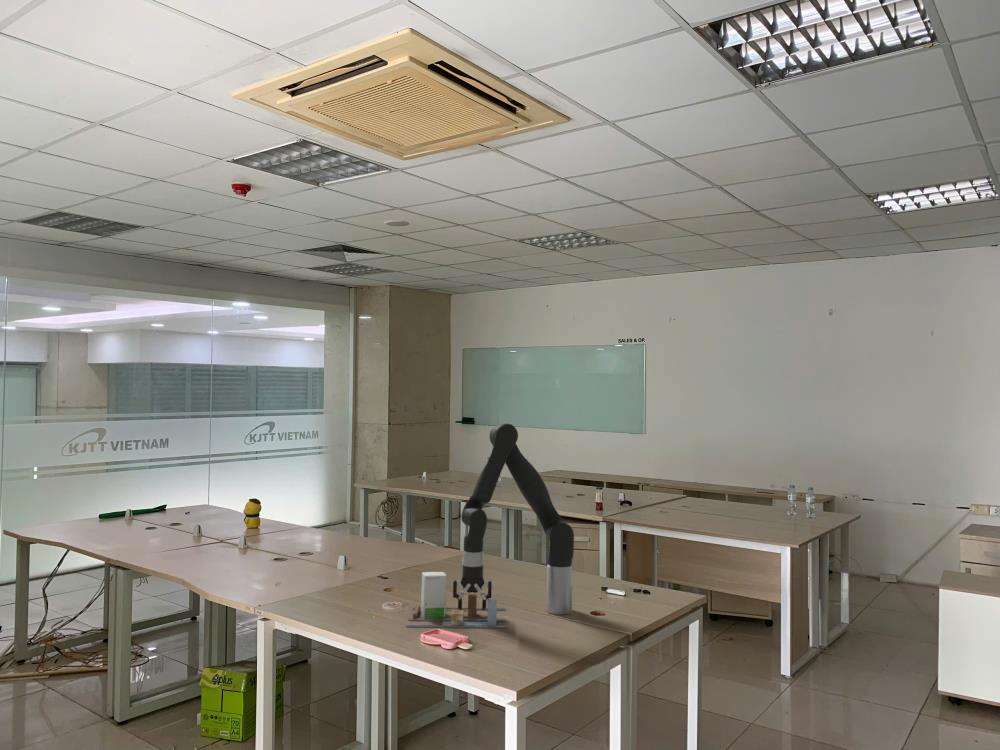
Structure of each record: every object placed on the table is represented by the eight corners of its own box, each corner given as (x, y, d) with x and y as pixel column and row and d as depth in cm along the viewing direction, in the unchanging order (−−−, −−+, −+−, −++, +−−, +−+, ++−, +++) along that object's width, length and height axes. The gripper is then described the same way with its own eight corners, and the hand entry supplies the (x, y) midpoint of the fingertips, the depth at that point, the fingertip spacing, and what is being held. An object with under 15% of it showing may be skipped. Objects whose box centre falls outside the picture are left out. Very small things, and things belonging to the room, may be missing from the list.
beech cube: (462, 622, 241) (463, 610, 241) (462, 625, 237) (462, 613, 237) (451, 622, 241) (451, 610, 241) (450, 625, 237) (450, 613, 237)
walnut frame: (476, 613, 256) (476, 590, 256) (476, 623, 244) (476, 599, 244) (416, 612, 255) (416, 590, 256) (412, 622, 243) (413, 599, 244)
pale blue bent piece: (496, 624, 242) (496, 598, 242) (496, 629, 237) (496, 602, 237) (442, 624, 242) (443, 598, 242) (441, 629, 237) (442, 602, 237)
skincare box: (422, 621, 245) (423, 576, 246) (419, 615, 251) (420, 571, 252) (446, 619, 247) (447, 575, 248) (442, 614, 254) (443, 570, 254)
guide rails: (505, 612, 257) (505, 608, 257) (506, 631, 236) (506, 626, 236) (412, 611, 257) (412, 606, 257) (405, 630, 235) (405, 625, 235)
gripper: (492, 561, 254) (491, 607, 254) (453, 560, 254) (452, 606, 253) (492, 566, 247) (491, 613, 246) (452, 565, 247) (451, 612, 246)
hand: (471, 609), depth 250 cm, fingers open, 7 cm apart
